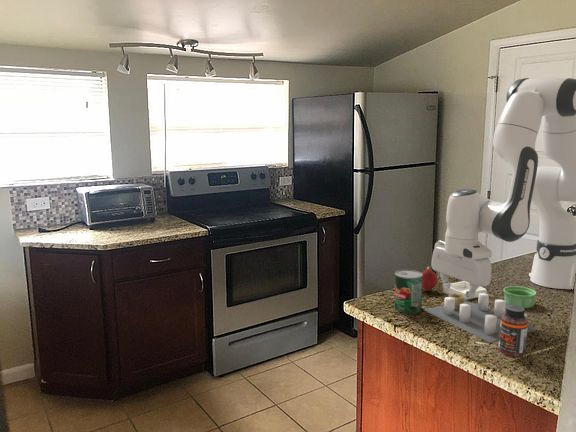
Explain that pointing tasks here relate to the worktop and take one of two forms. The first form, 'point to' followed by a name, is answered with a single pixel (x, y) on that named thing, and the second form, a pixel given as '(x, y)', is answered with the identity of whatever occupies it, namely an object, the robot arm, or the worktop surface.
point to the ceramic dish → (463, 289)
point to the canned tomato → (408, 291)
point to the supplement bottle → (513, 331)
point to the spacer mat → (474, 316)
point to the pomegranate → (428, 279)
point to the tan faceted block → (457, 300)
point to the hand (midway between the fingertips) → (458, 292)
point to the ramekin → (519, 296)
